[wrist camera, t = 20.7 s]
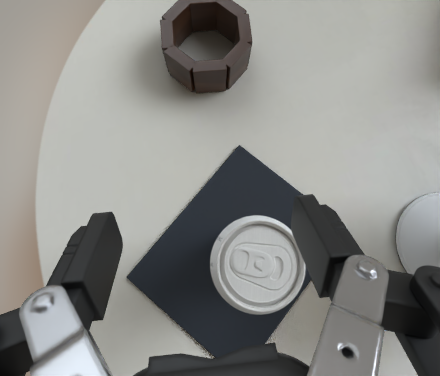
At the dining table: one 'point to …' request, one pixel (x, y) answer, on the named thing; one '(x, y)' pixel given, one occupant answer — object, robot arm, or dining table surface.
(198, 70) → the segmented ring
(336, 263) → the robot arm
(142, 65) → the dining table surface
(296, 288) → the beer can
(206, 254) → the mat
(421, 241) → the chalice
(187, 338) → the dining table surface
